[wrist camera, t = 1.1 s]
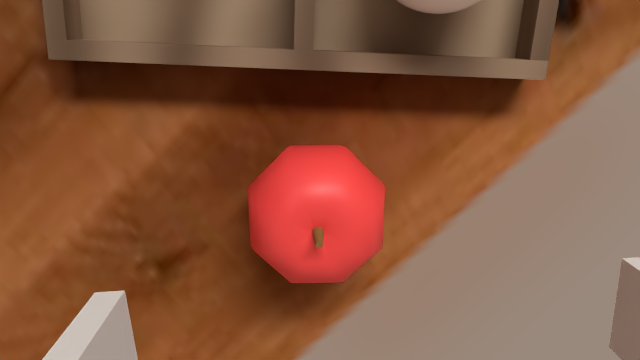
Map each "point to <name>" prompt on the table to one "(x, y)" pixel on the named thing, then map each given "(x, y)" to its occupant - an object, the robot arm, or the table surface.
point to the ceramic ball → (438, 5)
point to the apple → (316, 214)
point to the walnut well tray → (308, 35)
